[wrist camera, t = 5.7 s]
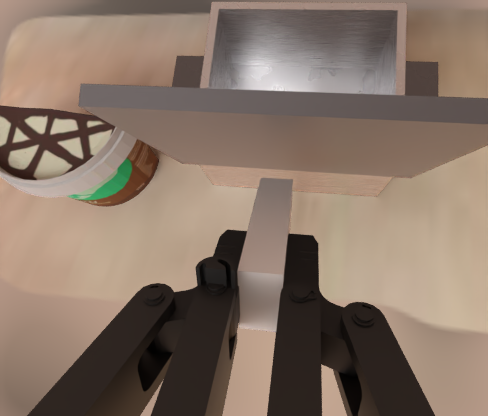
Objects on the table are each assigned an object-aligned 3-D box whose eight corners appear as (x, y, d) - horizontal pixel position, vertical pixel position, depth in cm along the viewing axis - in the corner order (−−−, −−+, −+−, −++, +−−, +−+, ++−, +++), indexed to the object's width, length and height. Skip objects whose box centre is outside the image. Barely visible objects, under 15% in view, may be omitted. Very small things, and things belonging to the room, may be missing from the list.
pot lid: (532, 100, 12) (531, 126, 12) (411, 165, 24) (410, 178, 24) (80, 83, 14) (78, 105, 14) (183, 151, 26) (182, 163, 26)
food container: (34, 209, 36) (-61, 177, 26) (51, 147, 37) (-33, 95, 28) (160, 228, 34) (108, 201, 24) (174, 162, 35) (130, 111, 26)
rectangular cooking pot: (409, 68, 35) (443, 3, 27) (406, 198, 32) (443, 167, 24) (203, 63, 37) (181, 1, 30) (186, 182, 35) (157, 150, 27)
